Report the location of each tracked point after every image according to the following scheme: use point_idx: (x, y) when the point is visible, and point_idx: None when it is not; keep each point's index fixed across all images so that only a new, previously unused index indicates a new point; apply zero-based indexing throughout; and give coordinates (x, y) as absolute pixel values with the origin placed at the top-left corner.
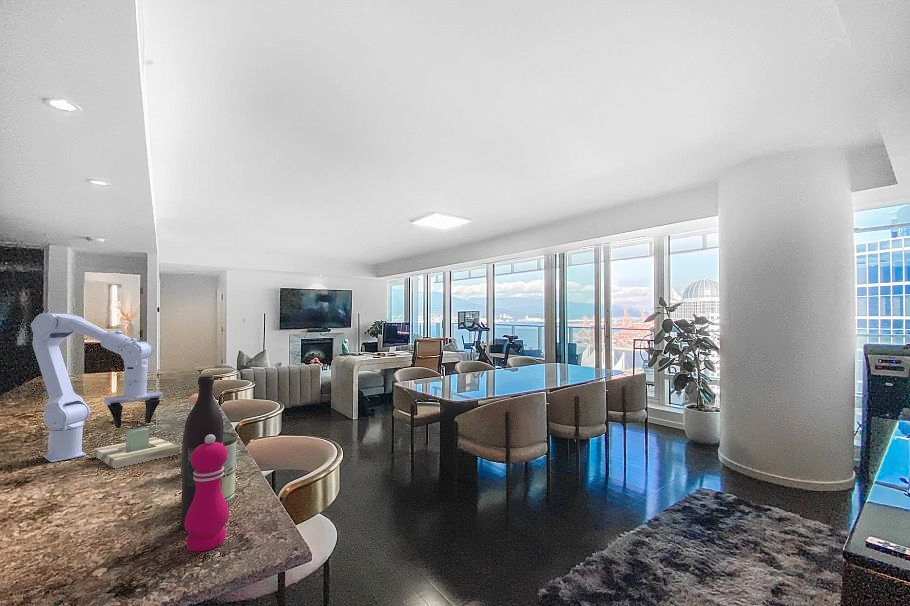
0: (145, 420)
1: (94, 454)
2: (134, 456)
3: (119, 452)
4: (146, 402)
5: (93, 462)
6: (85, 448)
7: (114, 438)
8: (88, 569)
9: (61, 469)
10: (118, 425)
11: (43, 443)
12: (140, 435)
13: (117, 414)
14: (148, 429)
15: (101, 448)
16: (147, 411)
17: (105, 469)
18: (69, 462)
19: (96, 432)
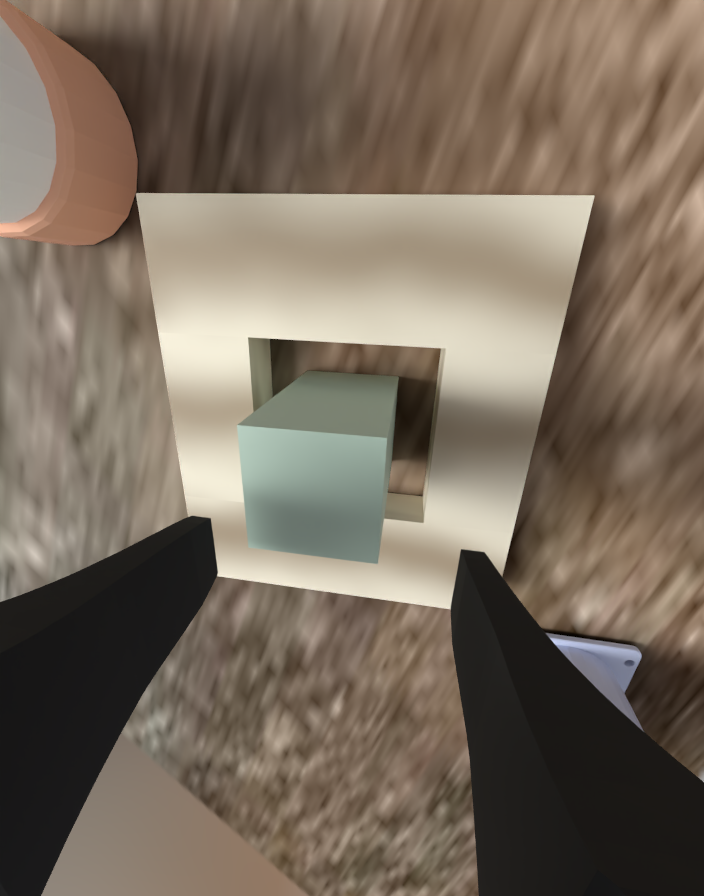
0: (207, 589)
1: None
2: (452, 196)
3: (462, 407)
4: (28, 856)
5: (539, 489)
6: (434, 723)
7: (305, 754)
8: None
9: (695, 501)
10: (493, 565)
11: None
12: (323, 415)
13: (583, 695)
14: (244, 426)
15: None
16: (128, 659)
17: (596, 266)
18: (593, 588)
19: (318, 850)
